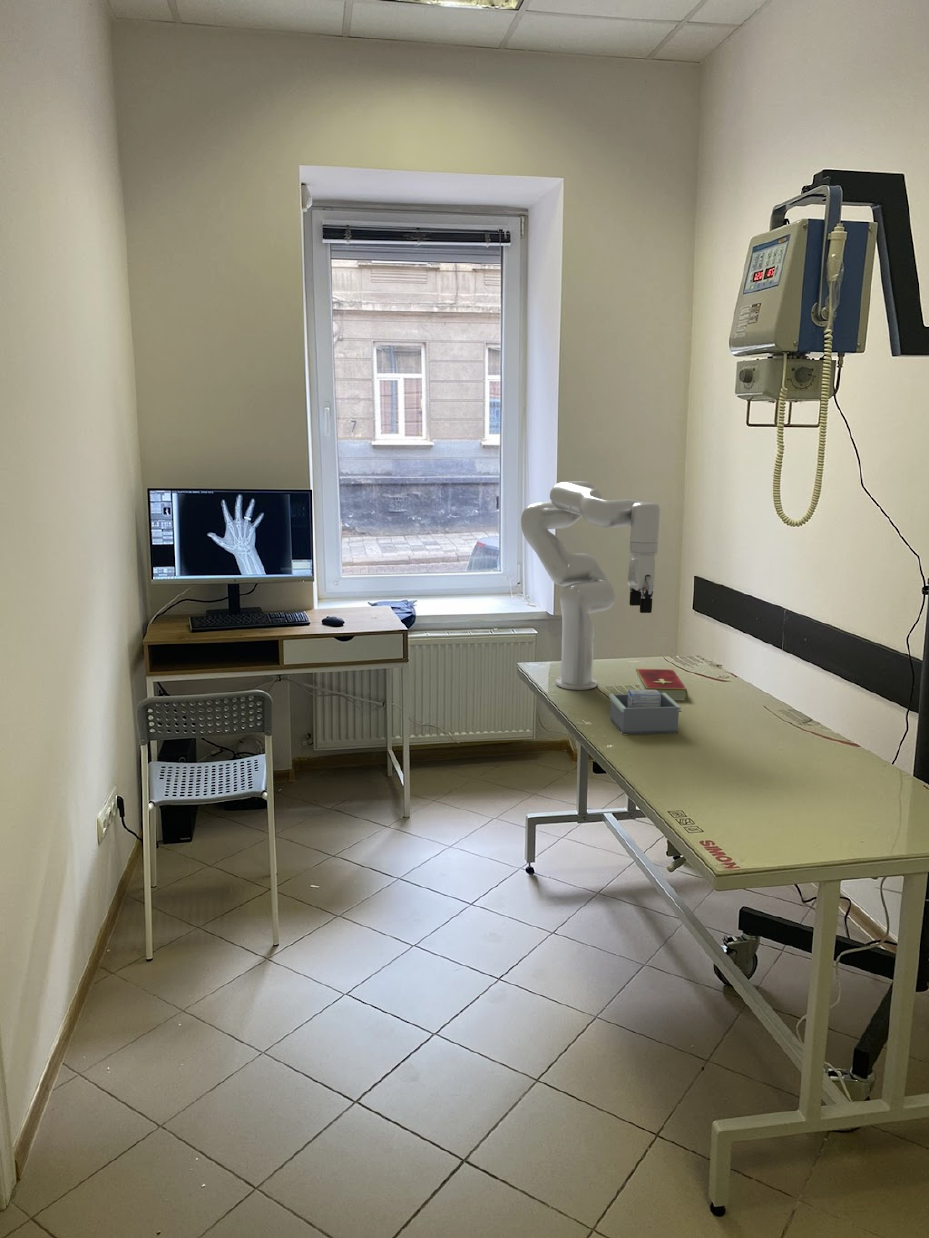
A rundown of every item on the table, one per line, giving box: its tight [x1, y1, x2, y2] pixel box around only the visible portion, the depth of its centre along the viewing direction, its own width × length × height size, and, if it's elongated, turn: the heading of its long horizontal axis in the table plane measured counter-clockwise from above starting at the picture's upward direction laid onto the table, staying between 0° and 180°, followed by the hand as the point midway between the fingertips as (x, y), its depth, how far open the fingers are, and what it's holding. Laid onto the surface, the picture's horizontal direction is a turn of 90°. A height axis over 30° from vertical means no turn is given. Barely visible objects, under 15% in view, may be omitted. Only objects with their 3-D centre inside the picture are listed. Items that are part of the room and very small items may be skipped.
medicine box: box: [627, 689, 661, 708], centre depth 242 cm, size 8×4×9 cm, turn 92°
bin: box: [608, 693, 682, 735], centre depth 242 cm, size 13×16×7 cm
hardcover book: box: [635, 668, 688, 701], centre depth 275 cm, size 12×21×4 cm, turn 178°
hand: (640, 608), depth 254 cm, fingers open, 9 cm apart
